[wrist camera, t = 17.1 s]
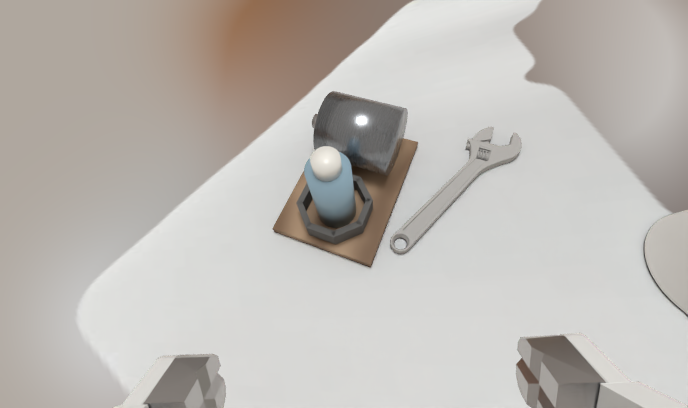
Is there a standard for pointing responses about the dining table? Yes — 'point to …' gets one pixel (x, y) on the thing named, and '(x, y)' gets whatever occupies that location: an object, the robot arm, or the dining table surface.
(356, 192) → the base plate
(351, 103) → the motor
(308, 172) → the blue plastic bottle
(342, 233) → the collar
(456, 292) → the dining table surface
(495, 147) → the adjustable wrench
